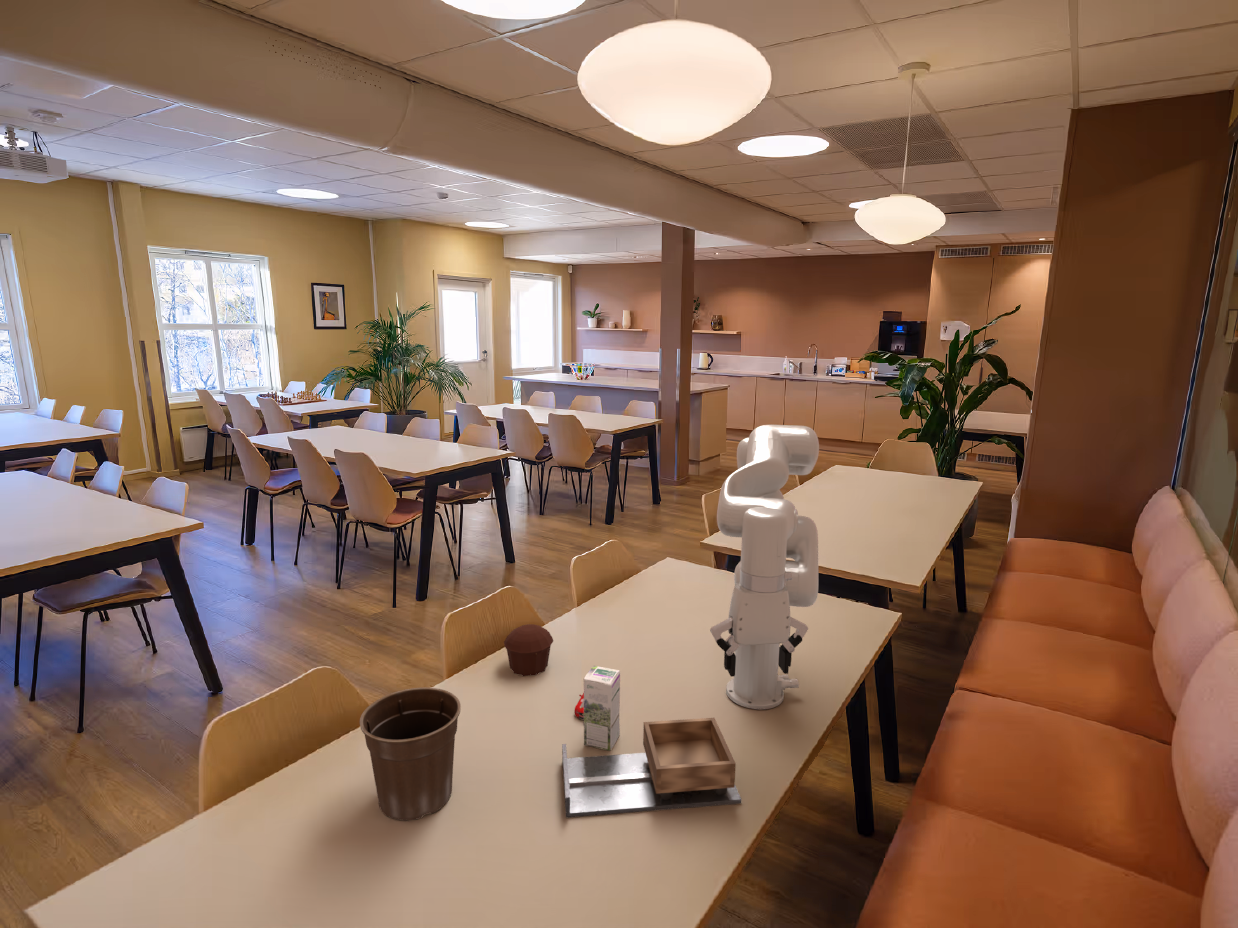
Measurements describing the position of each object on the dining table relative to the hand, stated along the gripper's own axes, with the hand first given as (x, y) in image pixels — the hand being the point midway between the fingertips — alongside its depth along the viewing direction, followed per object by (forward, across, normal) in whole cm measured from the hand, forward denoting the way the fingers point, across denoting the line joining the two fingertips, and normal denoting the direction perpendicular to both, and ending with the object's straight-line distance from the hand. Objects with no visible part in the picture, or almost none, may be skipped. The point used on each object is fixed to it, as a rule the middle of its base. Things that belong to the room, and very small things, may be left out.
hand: (757, 671), depth 116 cm
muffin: (+21, +41, -44) cm, 63 cm away
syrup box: (+21, +26, -13) cm, 36 cm away
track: (+20, +19, 0) cm, 28 cm away
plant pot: (+21, +60, 0) cm, 63 cm away
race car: (+21, +27, -26) cm, 43 cm away
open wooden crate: (+20, +12, 0) cm, 24 cm away
